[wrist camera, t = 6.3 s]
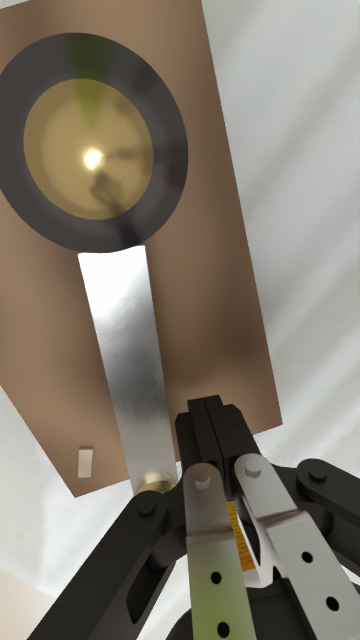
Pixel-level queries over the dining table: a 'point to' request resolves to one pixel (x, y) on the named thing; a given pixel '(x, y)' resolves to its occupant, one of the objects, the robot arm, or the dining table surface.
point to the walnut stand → (161, 254)
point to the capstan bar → (102, 207)
